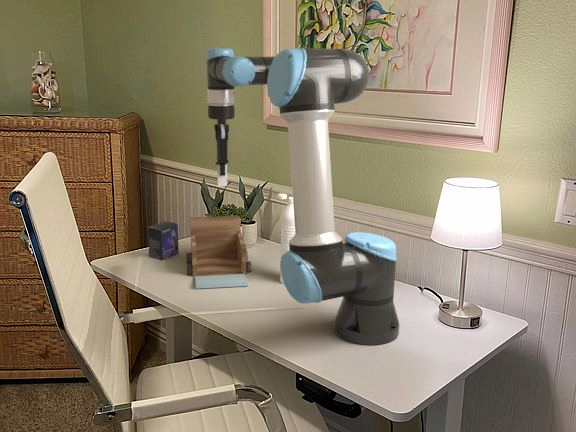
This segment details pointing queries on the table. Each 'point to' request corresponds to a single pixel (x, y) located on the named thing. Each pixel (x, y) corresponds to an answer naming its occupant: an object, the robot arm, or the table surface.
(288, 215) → the water bottle
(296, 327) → the table surface
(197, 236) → the box
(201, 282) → the panel
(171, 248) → the box
